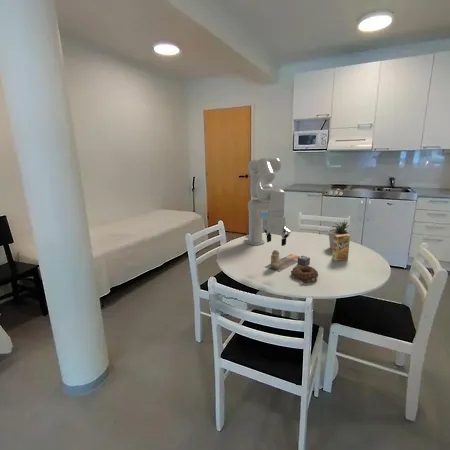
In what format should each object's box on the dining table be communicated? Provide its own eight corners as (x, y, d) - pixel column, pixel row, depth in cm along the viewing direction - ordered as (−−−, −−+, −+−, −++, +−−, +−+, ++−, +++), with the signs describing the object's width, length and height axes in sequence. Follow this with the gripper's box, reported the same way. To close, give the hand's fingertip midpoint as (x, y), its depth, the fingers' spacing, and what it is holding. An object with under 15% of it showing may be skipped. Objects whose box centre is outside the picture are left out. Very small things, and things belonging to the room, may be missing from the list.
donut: (295, 270, 165) (296, 262, 164) (320, 275, 158) (321, 266, 157) (287, 280, 153) (287, 271, 152) (313, 286, 147) (314, 277, 145)
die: (297, 265, 171) (297, 257, 170) (301, 263, 175) (302, 255, 173) (305, 268, 168) (305, 260, 166) (309, 265, 171) (310, 257, 170)
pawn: (268, 267, 166) (269, 250, 164) (274, 265, 170) (274, 248, 167) (276, 270, 163) (276, 252, 160) (281, 267, 166) (282, 250, 164)
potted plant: (342, 253, 189) (345, 223, 184) (323, 248, 199) (325, 219, 194) (352, 249, 196) (355, 220, 191) (333, 244, 207) (336, 216, 202)
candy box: (335, 261, 177) (338, 236, 173) (331, 258, 181) (333, 234, 177) (348, 259, 179) (350, 235, 175) (343, 256, 183) (345, 233, 179)
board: (264, 268, 168) (264, 267, 167) (291, 255, 187) (291, 254, 187) (278, 273, 161) (278, 272, 161) (305, 259, 180) (305, 258, 180)
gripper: (259, 212, 161) (259, 241, 166) (286, 216, 149) (285, 248, 154) (268, 210, 166) (267, 239, 171) (294, 214, 155) (293, 245, 159)
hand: (276, 243), depth 162 cm, fingers open, 9 cm apart
